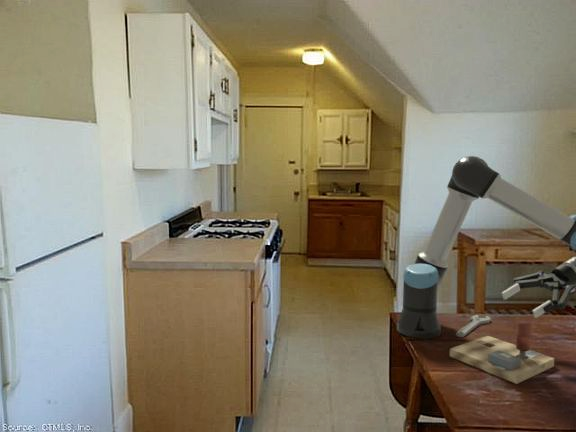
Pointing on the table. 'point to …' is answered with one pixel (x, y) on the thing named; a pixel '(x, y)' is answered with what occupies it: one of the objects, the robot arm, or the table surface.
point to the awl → (523, 338)
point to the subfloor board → (482, 347)
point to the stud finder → (504, 360)
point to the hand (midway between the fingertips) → (517, 304)
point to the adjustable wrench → (472, 325)
